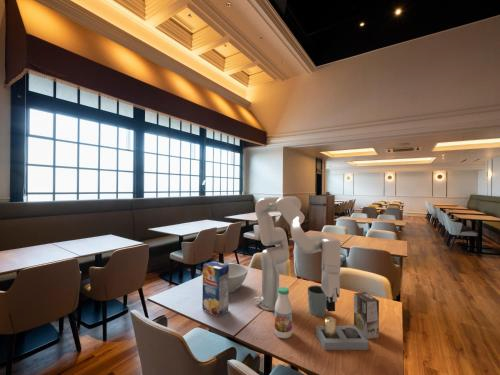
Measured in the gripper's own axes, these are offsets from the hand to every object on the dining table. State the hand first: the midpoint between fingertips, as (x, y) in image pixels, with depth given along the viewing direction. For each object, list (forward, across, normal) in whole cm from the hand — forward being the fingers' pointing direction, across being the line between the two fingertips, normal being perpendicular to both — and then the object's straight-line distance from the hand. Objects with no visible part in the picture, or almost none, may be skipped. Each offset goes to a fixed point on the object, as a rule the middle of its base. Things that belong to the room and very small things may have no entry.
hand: (330, 310), depth 99 cm
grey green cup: (+13, -23, +2) cm, 27 cm away
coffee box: (+13, -6, +18) cm, 24 cm away
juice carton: (+13, -25, -52) cm, 60 cm away
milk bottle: (+13, -5, -20) cm, 24 cm away
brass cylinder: (+13, 0, 0) cm, 13 cm away
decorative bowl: (+13, -51, -48) cm, 72 cm away
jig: (+13, 0, +4) cm, 14 cm away
